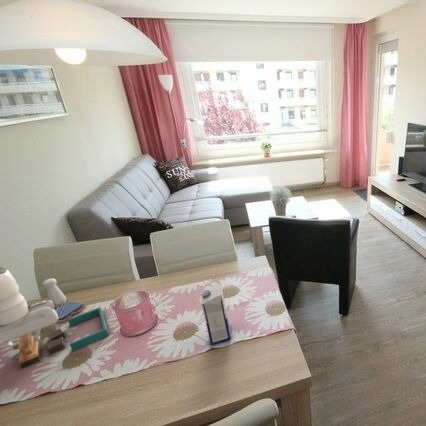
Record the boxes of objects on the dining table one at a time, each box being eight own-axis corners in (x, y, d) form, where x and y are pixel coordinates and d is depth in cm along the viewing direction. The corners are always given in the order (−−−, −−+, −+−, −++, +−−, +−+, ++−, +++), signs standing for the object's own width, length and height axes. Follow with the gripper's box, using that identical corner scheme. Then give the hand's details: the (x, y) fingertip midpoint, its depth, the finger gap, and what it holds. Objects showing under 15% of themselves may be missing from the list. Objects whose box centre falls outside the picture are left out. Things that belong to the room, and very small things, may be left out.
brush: (22, 368, 98) (13, 351, 95) (24, 347, 106) (16, 332, 104) (39, 360, 100) (31, 344, 98) (40, 341, 109) (33, 325, 106)
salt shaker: (47, 308, 127) (35, 283, 122) (60, 300, 132) (49, 276, 127) (58, 309, 126) (47, 284, 121) (71, 301, 131) (60, 276, 126)
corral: (72, 351, 104) (69, 344, 103) (70, 325, 116) (67, 319, 115) (108, 335, 110) (106, 329, 109) (102, 312, 123) (100, 306, 122)
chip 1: (52, 344, 107) (50, 339, 106) (49, 340, 109) (46, 335, 108) (65, 337, 110) (63, 332, 109) (62, 333, 112) (59, 328, 111)
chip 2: (50, 354, 103) (47, 348, 102) (50, 347, 106) (47, 342, 105) (65, 348, 105) (62, 342, 104) (64, 341, 108) (62, 336, 107)
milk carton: (230, 340, 105) (221, 294, 98) (211, 345, 103) (200, 299, 96) (229, 326, 112) (220, 282, 104) (210, 331, 110) (200, 287, 102)
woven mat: (69, 303, 130) (68, 299, 129) (87, 306, 127) (85, 303, 126) (43, 319, 120) (41, 315, 120) (62, 323, 118) (60, 319, 117)
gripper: (51, 294, 105) (64, 324, 110) (-33, 322, 93) (-14, 354, 98) (51, 302, 101) (65, 333, 106) (-38, 332, 88) (-17, 366, 93)
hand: (26, 344), depth 102 cm, fingers open, 4 cm apart
